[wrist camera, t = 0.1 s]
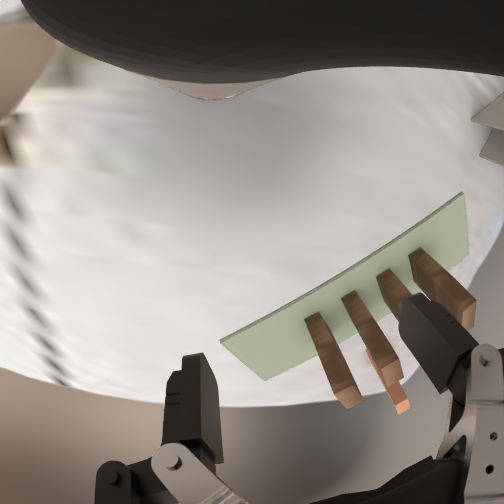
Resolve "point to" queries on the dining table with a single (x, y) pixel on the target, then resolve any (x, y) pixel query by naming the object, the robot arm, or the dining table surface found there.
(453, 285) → the tile
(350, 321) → the mat
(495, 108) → the brochure
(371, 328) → the tile
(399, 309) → the tile
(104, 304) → the dining table surface
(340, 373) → the tile
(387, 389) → the tile
